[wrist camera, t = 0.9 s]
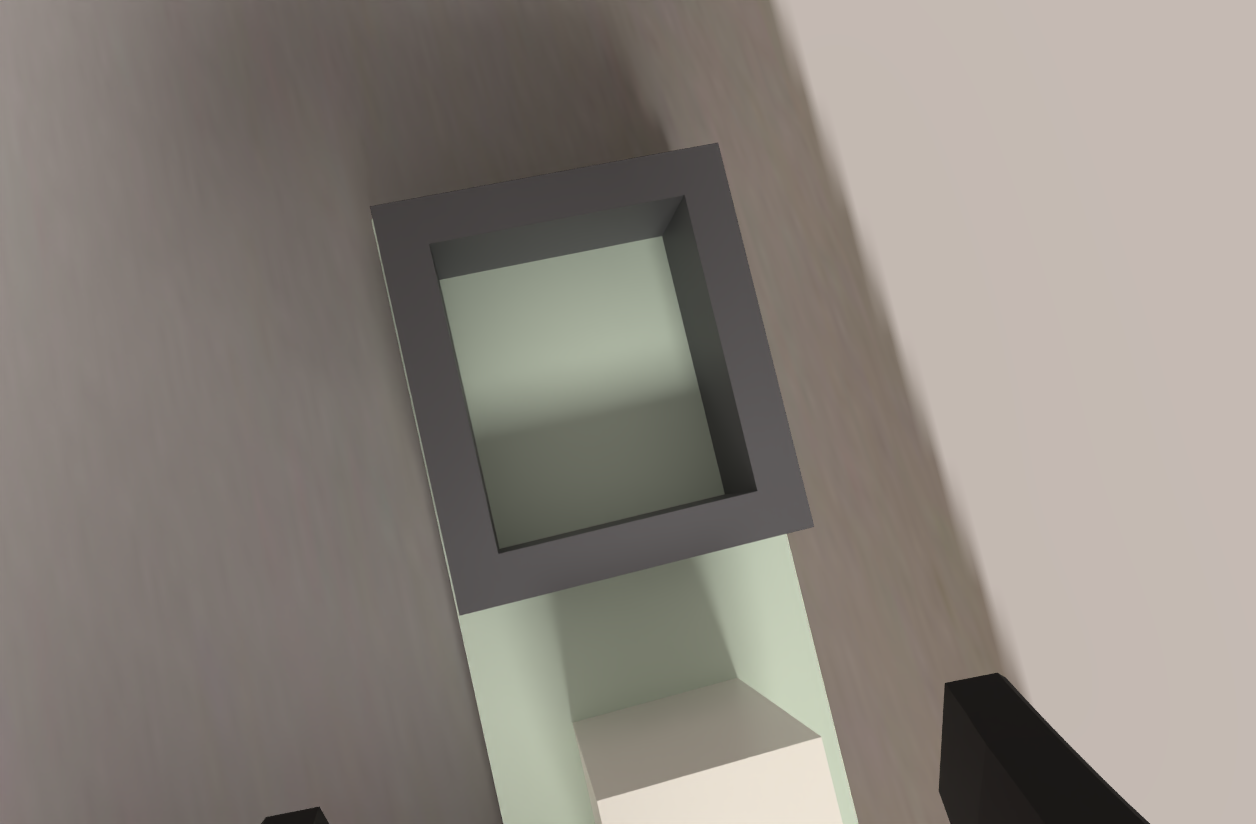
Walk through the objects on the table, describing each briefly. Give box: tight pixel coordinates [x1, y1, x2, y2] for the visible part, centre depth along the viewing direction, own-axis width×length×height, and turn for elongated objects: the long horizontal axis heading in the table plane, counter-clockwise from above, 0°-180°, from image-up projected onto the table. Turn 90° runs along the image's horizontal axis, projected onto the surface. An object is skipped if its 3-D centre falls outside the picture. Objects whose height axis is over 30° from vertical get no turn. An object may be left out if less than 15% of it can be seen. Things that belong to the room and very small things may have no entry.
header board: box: [370, 143, 858, 824], centre depth 21 cm, size 20×8×4 cm, turn 14°
